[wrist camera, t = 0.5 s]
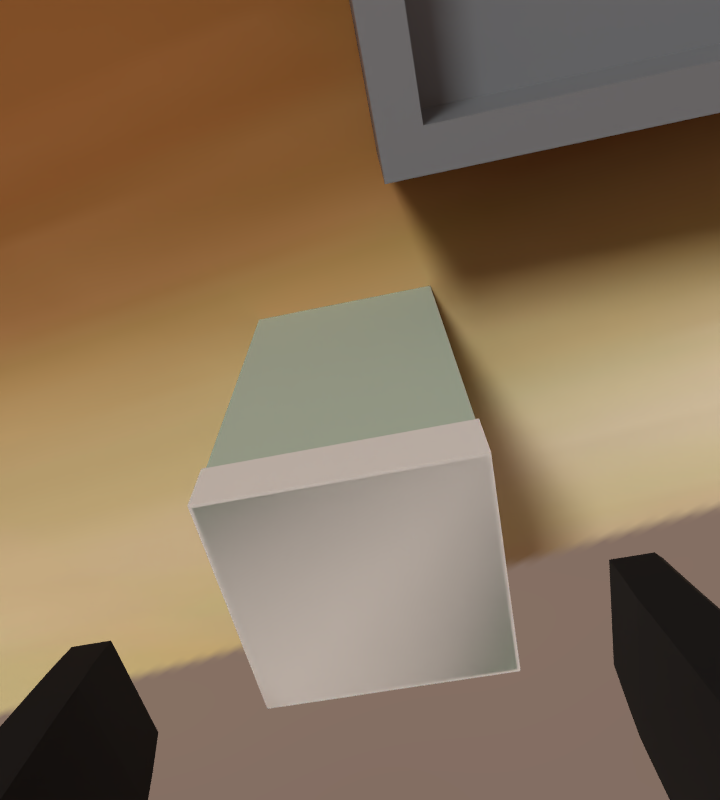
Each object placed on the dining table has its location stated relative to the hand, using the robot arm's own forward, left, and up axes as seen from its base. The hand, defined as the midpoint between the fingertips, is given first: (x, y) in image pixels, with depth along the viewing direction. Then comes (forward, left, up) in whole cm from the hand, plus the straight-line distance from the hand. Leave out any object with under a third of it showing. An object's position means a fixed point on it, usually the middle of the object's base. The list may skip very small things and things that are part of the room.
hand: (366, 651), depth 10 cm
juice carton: (0, 0, -9) cm, 9 cm away
